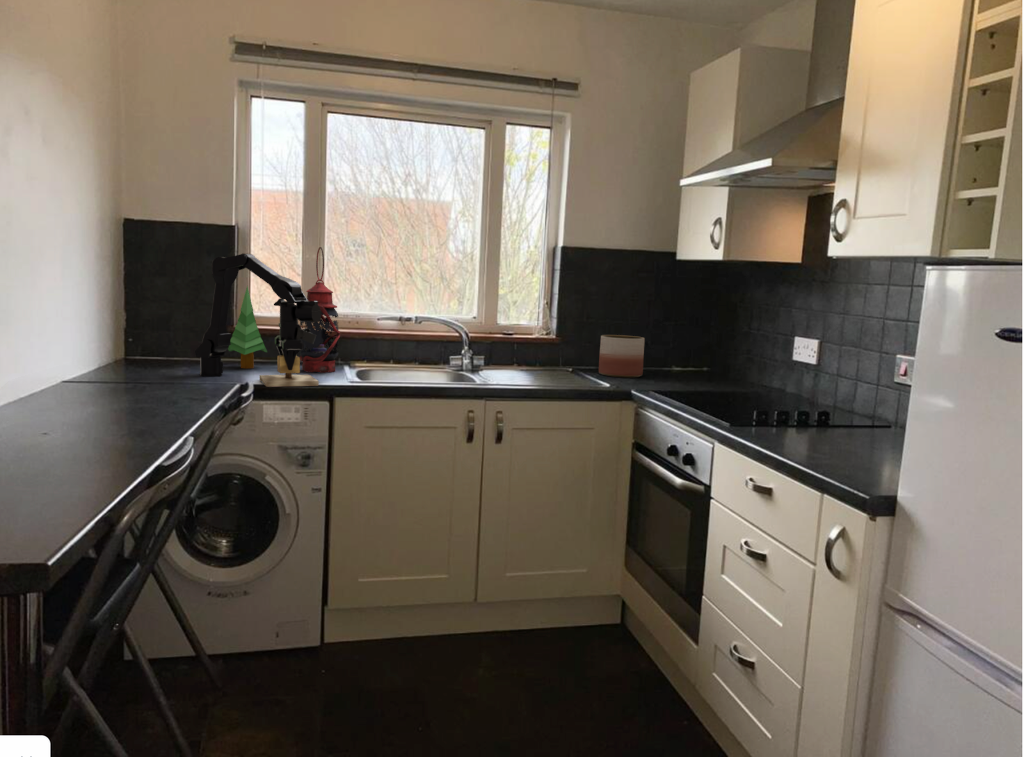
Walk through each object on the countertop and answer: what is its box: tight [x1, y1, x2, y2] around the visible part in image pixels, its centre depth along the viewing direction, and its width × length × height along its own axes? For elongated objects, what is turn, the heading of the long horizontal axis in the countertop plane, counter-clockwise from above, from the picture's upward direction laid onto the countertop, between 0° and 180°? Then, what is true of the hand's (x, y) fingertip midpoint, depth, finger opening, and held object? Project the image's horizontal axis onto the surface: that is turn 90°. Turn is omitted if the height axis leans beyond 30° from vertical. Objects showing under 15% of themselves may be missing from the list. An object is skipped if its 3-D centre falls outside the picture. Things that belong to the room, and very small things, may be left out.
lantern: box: [298, 246, 341, 374], centre depth 280 cm, size 16×15×45 cm
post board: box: [258, 373, 320, 388], centre depth 249 cm, size 16×16×6 cm
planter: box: [598, 334, 645, 379], centre depth 311 cm, size 18×18×16 cm
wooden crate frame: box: [276, 355, 301, 374], centre depth 248 cm, size 6×6×5 cm
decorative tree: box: [227, 285, 268, 369], centre depth 280 cm, size 14×16×30 cm
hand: (288, 368), depth 249 cm, fingers closed on wooden crate frame, 6 cm apart
